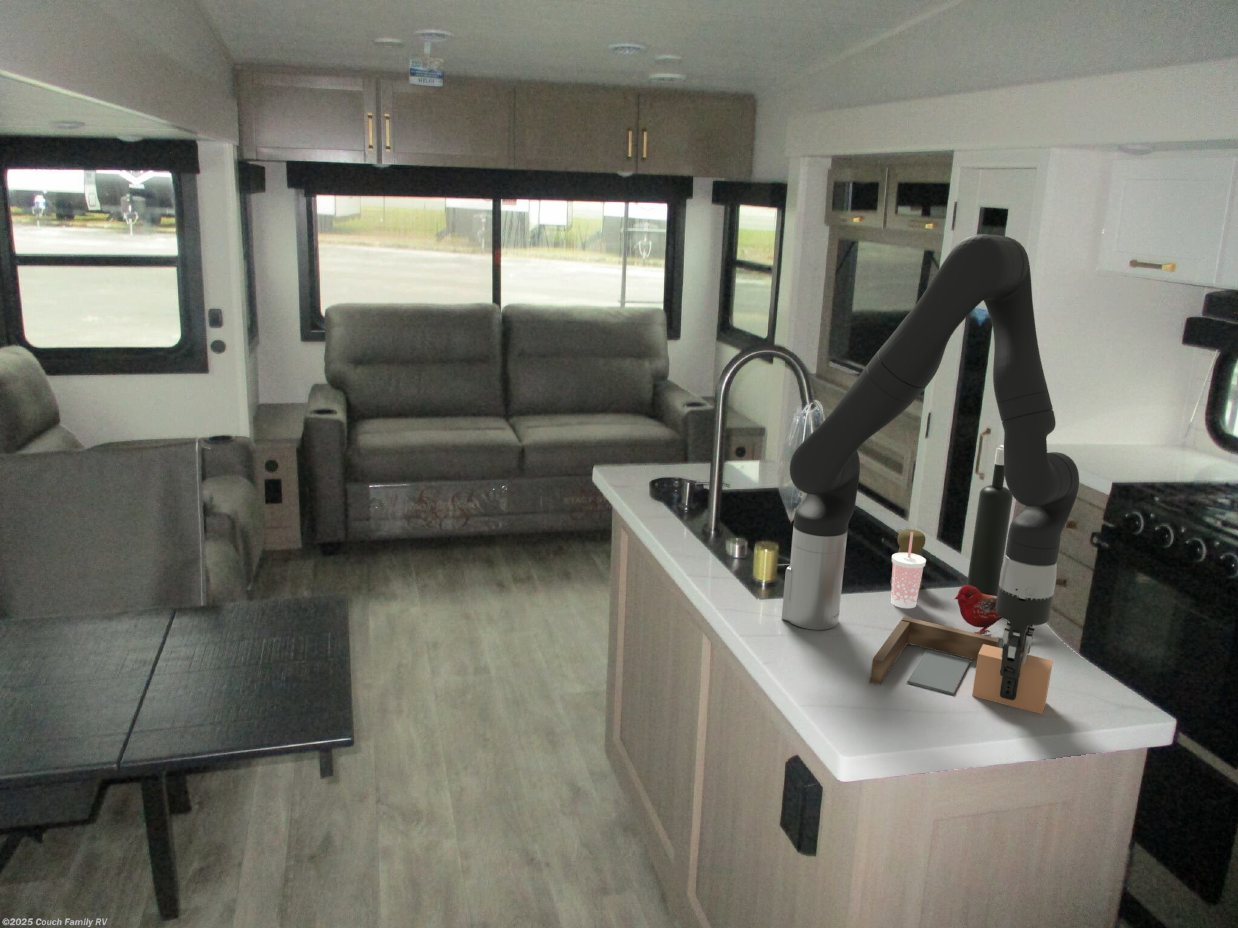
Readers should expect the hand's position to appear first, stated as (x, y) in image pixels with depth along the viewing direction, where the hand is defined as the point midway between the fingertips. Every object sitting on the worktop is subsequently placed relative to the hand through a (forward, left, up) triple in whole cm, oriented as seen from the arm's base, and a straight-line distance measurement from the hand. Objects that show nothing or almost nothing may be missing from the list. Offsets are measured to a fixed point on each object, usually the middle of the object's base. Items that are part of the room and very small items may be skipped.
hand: (1009, 691), depth 149 cm
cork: (-25, +38, -2) cm, 45 cm away
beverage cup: (-23, +28, -2) cm, 36 cm away
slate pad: (-11, +3, -1) cm, 11 cm away
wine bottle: (-11, +39, -2) cm, 41 cm away
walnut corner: (-11, +3, -1) cm, 11 cm away
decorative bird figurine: (-7, +23, -2) cm, 24 cm away
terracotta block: (0, 0, -1) cm, 1 cm away
